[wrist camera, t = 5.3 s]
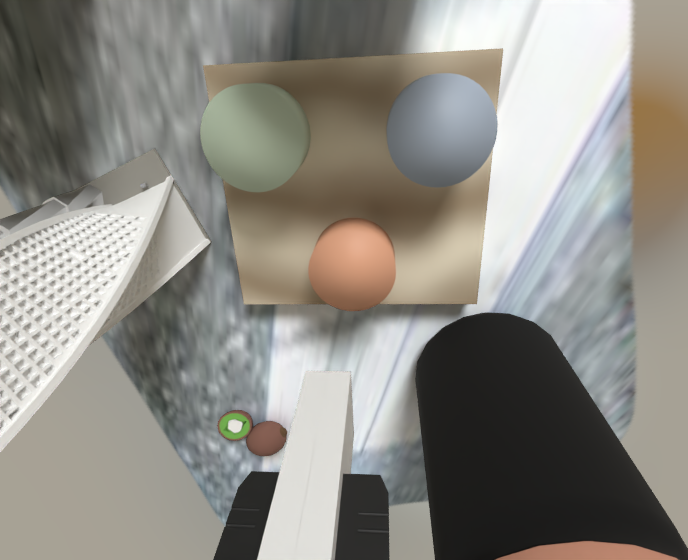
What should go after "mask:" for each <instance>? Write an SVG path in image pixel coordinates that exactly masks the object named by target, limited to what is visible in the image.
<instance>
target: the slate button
mask: <svg viewBox="0 0 688 560" xmlns="http://www.w3.org/2000/svg"><path fill="white" fill-rule="evenodd" d="M386 131H387V144H388V149H389V152H390V155H391V158H392V160H393V162H394V164H395V165H396V167H397V168H398V169H399V170H400V172H401V173H402V174H403V175H405V176H406V177H407V178H408V179H410V180H411V181H413V182H415V183H417V184H420V185H423V186H427V187H438V188H439V187H447V186H452V185H455V184H458V183H460V182H462V181H464V180H466V179H467V178H469V177H471V176H472V175H473V174H474V173H476V172H477V171H478V170H479V169H480V168H481V167H482V165H483V164H484V163H485V161H486V160H487V159H488V157H489V155H490V153H491V151H492V149H493V147H494V143H495V140H496V135H497V115H496V111H495V107H494V105H493V102H492V100H491V98H490V97H489V95H488V94H487V92H486V91H485V90H484V89H483V88H482V87H481V86H480V85H479V84H478V83H476V82H475V81H473V80H472V79H470V78H468V77H465V76H462V75H459V74H453V73H440V74H431V75H427V76H424V77H421V78H419V79H417V80H415V81H413V82H412V83H410V84H409V85H408V86H406V87H405V88H404V89H403V90H402V91H401V92H400V94H399V95H398V96H397V98H396V99H395V101H394V102H393V104H392V107H391V109H390V112H389V115H388V119H387V128H386Z"/></svg>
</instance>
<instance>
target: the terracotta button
mask: <svg viewBox="0 0 688 560" xmlns="http://www.w3.org/2000/svg"><path fill="white" fill-rule="evenodd" d="M308 274H309V279H310V282H311V285H312V287H313V289H314V291H315V292H316V293H317V295H318V296H319V297H320V298H321V299H322V300H323V301H325V302H326V303H327V304H329V305H331V306H333V307H335V308H338V309H341V310H346V311H361V310H366V309H369V308H372V307H374V306H376V305H377V304H379V303H380V302H382V301H383V300H384V299H385V298H386V297H387V296H388V294H389V293H390V292H391V290H392V288H393V285H394V283H395V278H396V265H395V251H394V246H393V243H392V241H391V239H390V237H389V236H388V234H387V233H386V232H385V231H384V230H383V229H382V228H381V227H380V226H379V225H377V224H376V223H374V222H372V221H370V220H367V219H363V218H345V219H341V220H338V221H336V222H334V223H332V224H331V225H329V226H328V227H327V228H326V229H325V230H324V231H323V232H322V233H321V235H320V236H319V238H318V240H317V243H316V245H315V248H314V250H313V253H312V255H311V258H310V261H309V267H308Z"/></svg>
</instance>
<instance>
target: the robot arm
mask: <svg viewBox="0 0 688 560" xmlns="http://www.w3.org/2000/svg"><path fill="white" fill-rule="evenodd" d="M353 437H354V426H353V406H352V386H351V371H306V372H305V375H304V379H303V383H302V387H301V391H300V395H299V399H298V403H297V406H296V410H295V414H294V418H293V422H292V426H291V430H290V434H289V438H288V441H287V445H286V449H285V453H284V457H283V461H282V465H281V469H280V472H255V471H251V473H250V474H249V475H248V476H247V478H246V479H245V480H244V481H243V483H242V484H241V485H240V486H239V487H238V490H237V493H236V496H235V499H234V502H233V504H232V509H231V511H230V513H229V516H228V519H227V522H226V527H224V530H223V533H222V536H221V539H220V542H219V545H218V548H217V551H216V553H215V556H214V559H213V560H389V506H388V491H387V489H386V487H385V484H384V482H383V480H382V478H381V476H380V475H365V474H351V463H352V450H353Z"/></svg>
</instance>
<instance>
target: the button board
mask: <svg viewBox="0 0 688 560" xmlns="http://www.w3.org/2000/svg"><path fill="white" fill-rule="evenodd" d="M502 56H503V49H486V50H469V51H451V52H434V53H416V54H399V55H381V56H363V57H346V58H328V59H311V60H293V61H275V62H258V63H240V64H223V65H205V66H203V68H204V74H205V79H206V85H207V91H208V97H209V102H210V101H211V100H212V99H213V97H215V96H216V95H217V94H218V93H219V92H221V91H222V90H224V89H226V88H228V87H230V86H234V85H237V84H248V83H267V84H272V85H275V86H278V87H280V88H282V89H284V90H285V91H287V92H288V93H290V94H291V95H292V96H293V97H294V98H295V99H296V100H297V101H298V102H299V104H300V105H301V107H302V108H303V110H304V112H305V114H306V116H307V119H308V122H309V126H310V132H311V140H310V147H309V151H308V154H307V157H306V159H305V160H304V162H303V164H302V165H301V166H300V168H299V169H298V170H297V171H296V172H295V173H294V174H293V175H292V176H291V177H290V178H289V179H288V181H286V182H285V183H284V184H283V185H281V186H279V187H277V188H275V189H273V190H270V191H266V192H248V191H244V190H241V189H238V188H236V187H233V186H232V185H230V184H228V183H227V182H226V181H224V180H223V184H224V190H225V196H226V202H227V207H228V213H229V219H230V225H231V231H232V237H233V242H234V248H235V254H236V260H237V266H238V272H239V277H240V283H241V289H242V295H243V301H244V304H327V303H326V302H325V301H323V300H322V299H321V298H320V297H319V296H318V295H317V293H316V292H315V291H314V289H313V287H312V285H311V282H310V279H309V274H308V267H309V261H310V258H311V255H312V253H313V250H314V248H315V245H316V243H317V240H318V238H319V236H320V235H321V233H322V232H323V231H324V230H325V229H326V228H327V227H328V226H329V225H331V224H332V223H334V222H336V221H338V220H341V219H345V218H363V219H367V220H370V221H372V222H374V223H376V224H377V225H379V226H380V227H381V228H382V229H383V230H384V231H385V232H386V233H387V234H388V236H389V237H390V239H391V241H392V243H393V246H394V251H395V265H396V278H395V283H394V285H393V288H392V290H391V292H390V293H389V294H388V296H387V297H386V298H385V299H384V300H383V301H382V302H380V303H379V304H477V297H478V288H479V278H480V268H481V259H482V249H483V239H484V230H485V220H486V210H487V201H488V191H489V181H490V172H491V162H492V152H493V149H492V151H491V153H490V155H489V157H488V159H487V160H486V161H485V163H484V164H483V165H482V167H481V168H480V169H479V170H478V171H477V172H476V173H474V174H473V175H472V176H471V177H469V178H467V179H466V180H464V181H462V182H460V183H458V184H455V185H452V186H447V187H439V188H438V187H427V186H423V185H420V184H417V183H415V182H413V181H411V180H410V179H408V178H407V177H406V176H405V175H403V174H402V173H401V172H400V170H399V169H398V168H397V167H396V165H395V164H394V162H393V160H392V158H391V155H390V152H389V149H388V144H387V131H386V128H387V119H388V115H389V112H390V109H391V107H392V104H393V102H394V101H395V99H396V98H397V96H398V95H399V94H400V92H401V91H402V90H403V89H404V88H405V87H406V86H408V85H409V84H410V83H412V82H413V81H415V80H417V79H419V78H421V77H424V76H427V75H431V74H440V73H453V74H459V75H462V76H465V77H468V78H470V79H472V80H473V81H475V82H476V83H478V84H479V85H480V86H481V87H482V88H483V89H484V90H485V91H486V92H487V94H488V95H489V97H490V98H491V100H492V102H493V105H494V107H495V111H496V114H497V104H498V94H499V85H500V75H501V65H502Z"/></svg>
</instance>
